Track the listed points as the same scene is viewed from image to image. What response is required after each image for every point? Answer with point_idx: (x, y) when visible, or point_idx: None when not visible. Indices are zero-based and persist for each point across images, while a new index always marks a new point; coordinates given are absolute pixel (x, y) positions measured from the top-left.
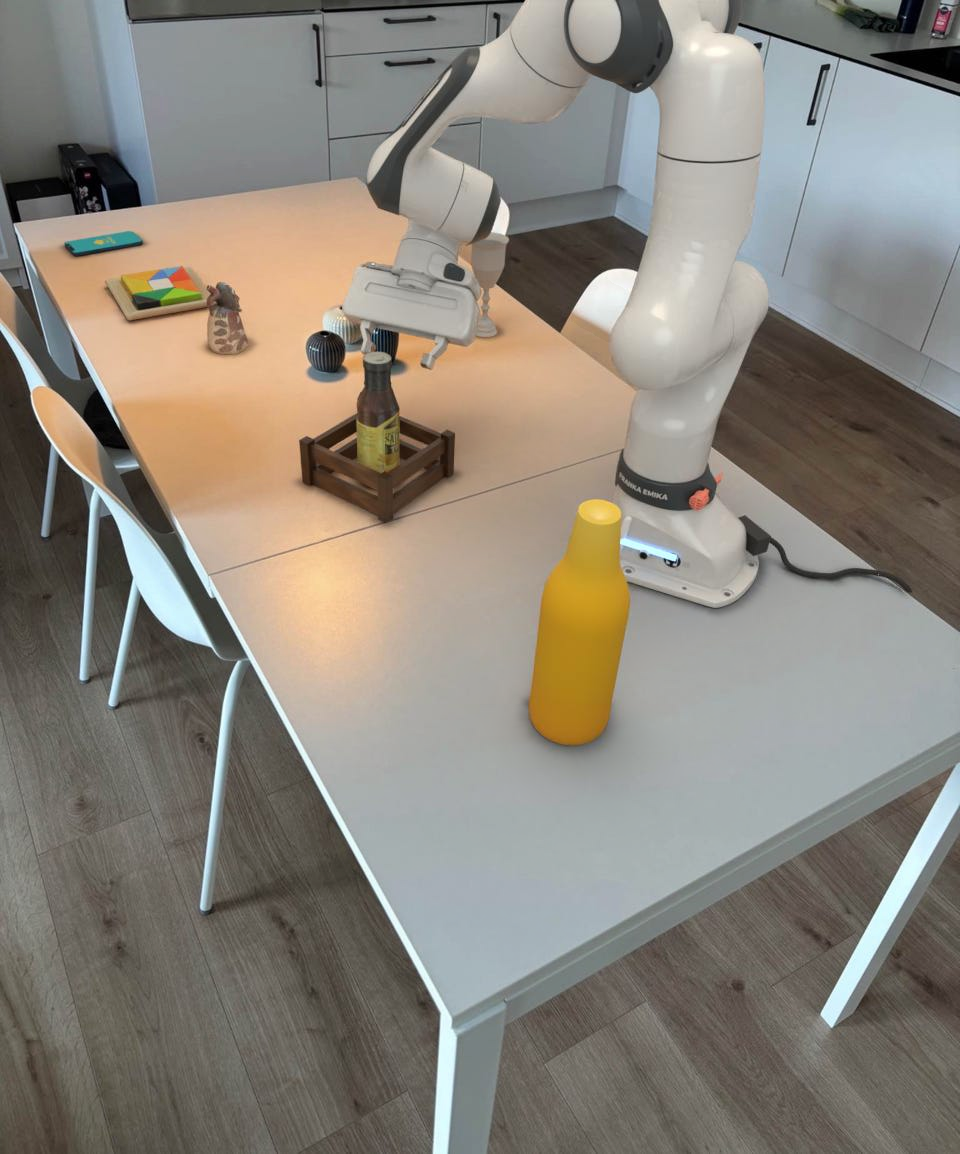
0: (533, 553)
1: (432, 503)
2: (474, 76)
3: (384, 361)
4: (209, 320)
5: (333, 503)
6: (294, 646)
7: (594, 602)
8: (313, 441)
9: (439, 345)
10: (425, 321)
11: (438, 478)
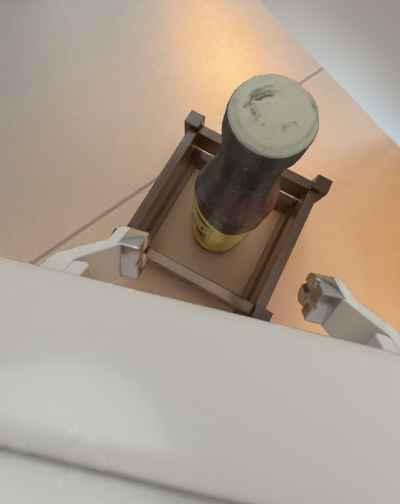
0: (31, 127)
1: (146, 194)
2: None
3: (244, 90)
4: None
5: None
6: (230, 3)
7: None
8: (312, 185)
9: (68, 254)
10: (108, 319)
11: None
